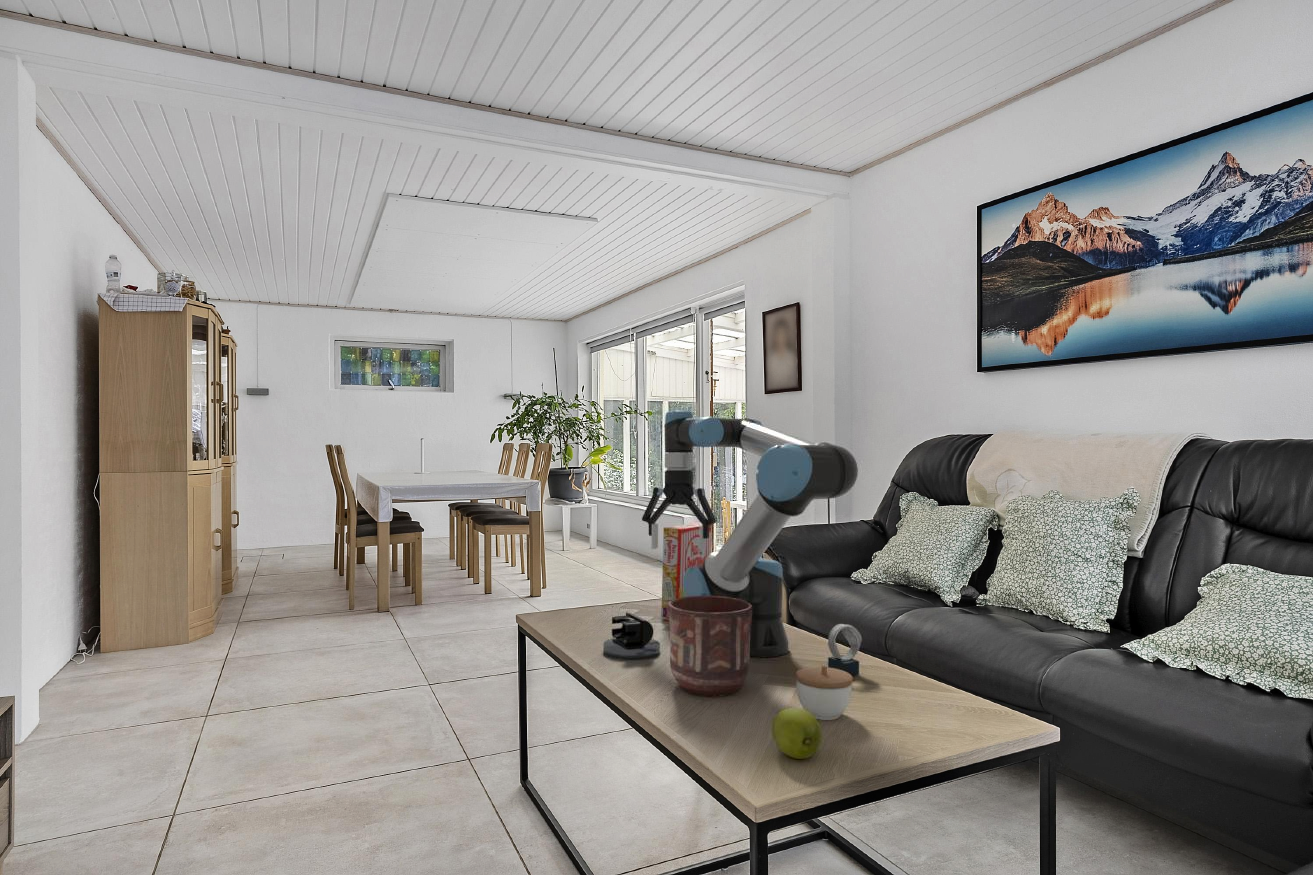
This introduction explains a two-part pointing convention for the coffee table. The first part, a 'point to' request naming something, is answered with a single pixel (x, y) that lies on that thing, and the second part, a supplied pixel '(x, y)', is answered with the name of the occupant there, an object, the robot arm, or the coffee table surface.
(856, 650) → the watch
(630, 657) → the plate
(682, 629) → the pottery
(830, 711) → the lidded jar
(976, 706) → the coffee table surface
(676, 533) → the popcorn box
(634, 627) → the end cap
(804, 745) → the green lime
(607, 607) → the coffee table surface
